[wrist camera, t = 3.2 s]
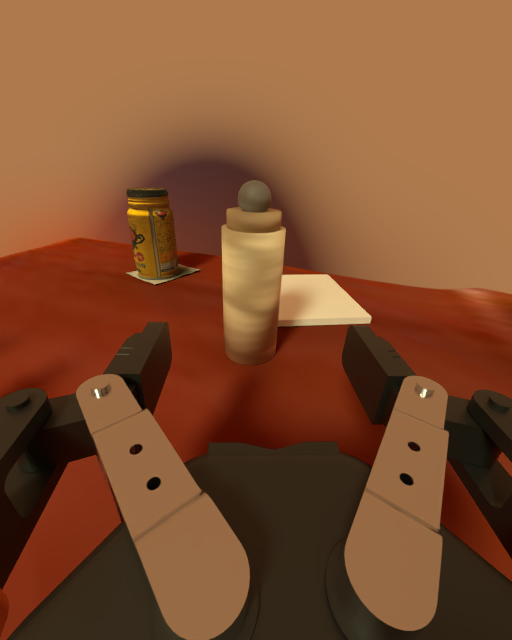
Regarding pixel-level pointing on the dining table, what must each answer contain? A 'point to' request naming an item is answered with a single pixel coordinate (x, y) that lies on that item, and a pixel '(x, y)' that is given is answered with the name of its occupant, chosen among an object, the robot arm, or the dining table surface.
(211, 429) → the dining table surface
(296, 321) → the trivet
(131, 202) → the condiment
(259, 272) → the pepper mill
